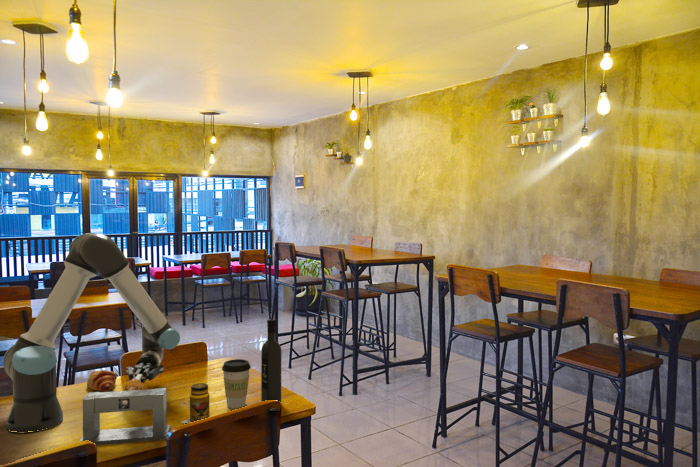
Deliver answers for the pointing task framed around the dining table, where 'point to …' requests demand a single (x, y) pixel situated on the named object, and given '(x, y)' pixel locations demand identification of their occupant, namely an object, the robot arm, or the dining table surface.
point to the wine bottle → (271, 366)
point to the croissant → (102, 380)
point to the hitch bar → (111, 403)
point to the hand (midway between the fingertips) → (136, 384)
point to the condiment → (198, 403)
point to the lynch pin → (130, 386)
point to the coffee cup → (236, 382)
